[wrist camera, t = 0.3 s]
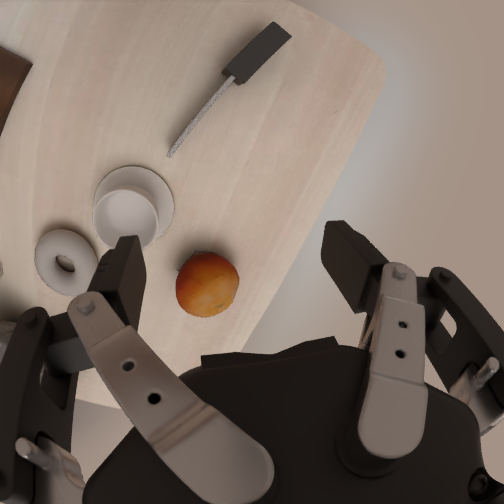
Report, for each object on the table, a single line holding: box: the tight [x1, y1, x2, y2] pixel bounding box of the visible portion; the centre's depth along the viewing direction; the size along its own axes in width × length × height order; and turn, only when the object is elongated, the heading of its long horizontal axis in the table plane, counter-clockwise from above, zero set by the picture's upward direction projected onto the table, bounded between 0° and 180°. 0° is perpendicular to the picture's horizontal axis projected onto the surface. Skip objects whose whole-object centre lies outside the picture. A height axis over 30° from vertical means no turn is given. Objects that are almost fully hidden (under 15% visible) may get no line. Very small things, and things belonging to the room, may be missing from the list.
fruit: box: [176, 251, 239, 318], centre depth 34 cm, size 8×8×8 cm
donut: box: [34, 229, 98, 297], centre depth 30 cm, size 10×4×10 cm
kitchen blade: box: [166, 22, 292, 158], centre depth 23 cm, size 17×2×4 cm, turn 139°
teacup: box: [92, 166, 174, 251], centre depth 28 cm, size 10×10×5 cm
